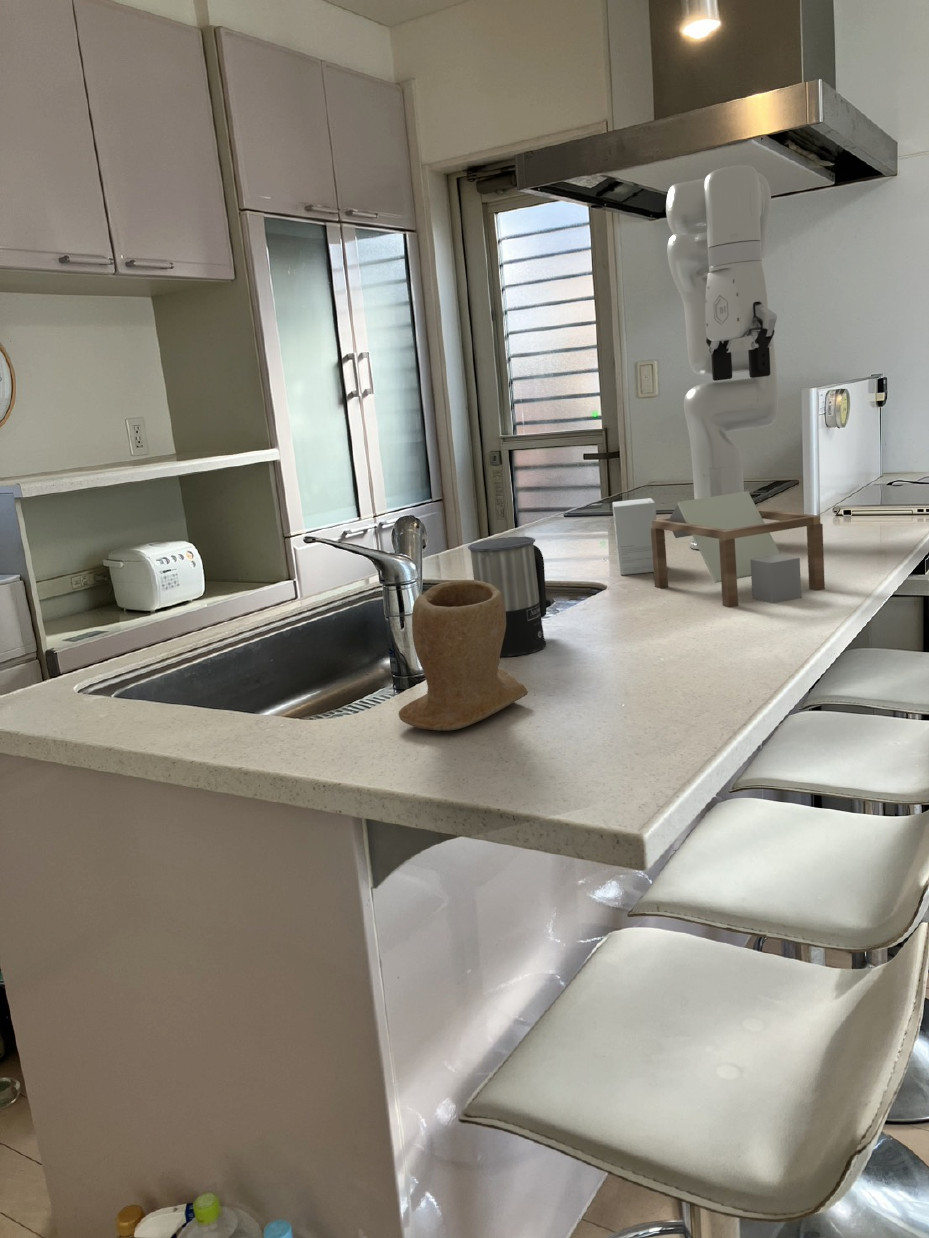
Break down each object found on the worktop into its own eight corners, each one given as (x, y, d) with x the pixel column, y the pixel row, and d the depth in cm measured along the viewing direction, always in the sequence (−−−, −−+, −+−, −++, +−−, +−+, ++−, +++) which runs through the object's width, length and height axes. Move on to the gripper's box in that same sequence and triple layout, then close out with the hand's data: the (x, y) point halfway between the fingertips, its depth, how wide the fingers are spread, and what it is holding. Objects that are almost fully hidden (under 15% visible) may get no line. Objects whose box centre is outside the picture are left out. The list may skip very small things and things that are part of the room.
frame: (654, 586, 169) (650, 520, 166) (741, 570, 173) (738, 506, 171) (728, 607, 148) (724, 532, 146) (824, 588, 153) (822, 515, 151)
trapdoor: (667, 521, 165) (678, 501, 160) (734, 510, 169) (748, 491, 164) (703, 598, 158) (716, 580, 154) (773, 585, 162) (787, 567, 158)
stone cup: (466, 746, 102) (449, 601, 98) (385, 730, 110) (367, 595, 107) (557, 703, 112) (545, 570, 109) (478, 691, 120) (464, 567, 117)
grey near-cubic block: (770, 563, 146) (772, 603, 148) (799, 557, 148) (801, 598, 149) (750, 559, 151) (752, 598, 152) (779, 554, 153) (780, 593, 154)
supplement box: (657, 565, 188) (652, 497, 185) (660, 572, 181) (655, 501, 178) (617, 568, 189) (611, 501, 186) (619, 575, 182) (613, 505, 179)
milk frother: (540, 656, 133) (529, 545, 130) (425, 662, 137) (411, 553, 134) (556, 630, 146) (546, 528, 143) (451, 635, 150) (439, 537, 147)
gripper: (681, 269, 155) (688, 383, 159) (747, 251, 139) (753, 378, 143) (724, 265, 157) (729, 378, 161) (793, 247, 141) (798, 373, 145)
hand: (740, 378), depth 152 cm, fingers open, 9 cm apart
